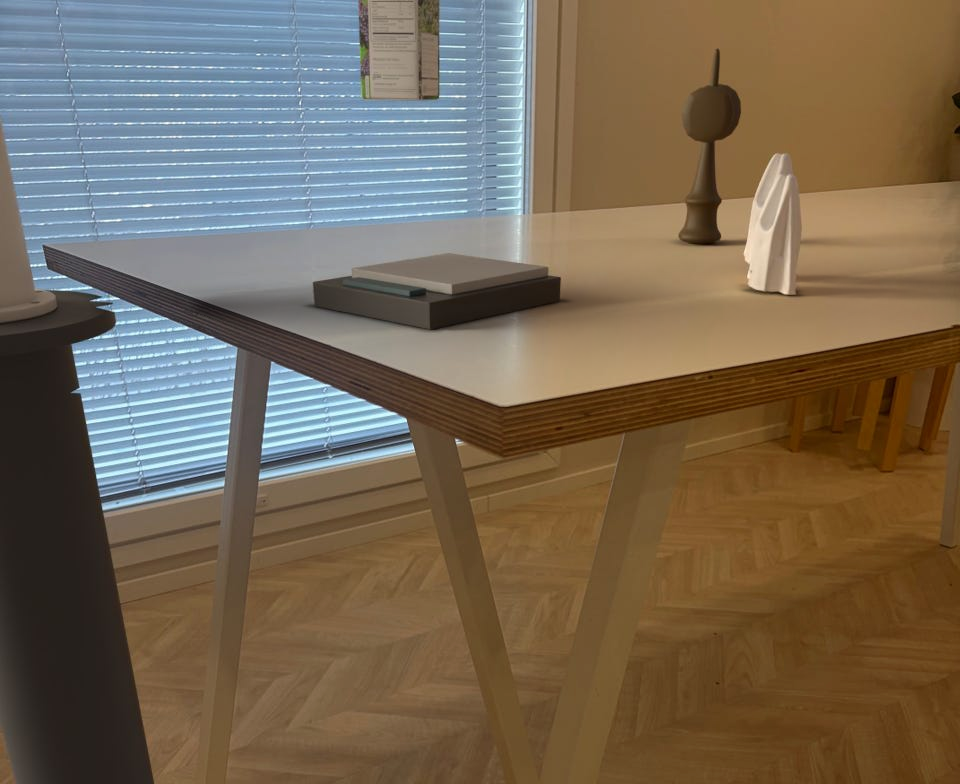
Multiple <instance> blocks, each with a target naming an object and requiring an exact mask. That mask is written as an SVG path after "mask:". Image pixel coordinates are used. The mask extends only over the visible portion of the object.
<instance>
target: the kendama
mask: <svg viewBox="0 0 960 784" xmlns="http://www.w3.org/2000/svg"><path fill="white" fill-rule="evenodd" d="M720 66H721V51H720V49H719V48H716V49H715V50H714V52H713V56H712V63H711V70H710V71H711V72H710V79H709V84H707V85H705V86H702V87H701V86H700V87H699V88H697V89H696V90H694V91H692V92H691V93H690V94H689V96H688V97H687V99H686V101H685V102H684V105H683V110H682V113H681V117H682V127H683V129H684V131H685V134H686V135H687V136H688V137H689V138H690V139H692V140H693V141H695V142H700V143H701V147H700V153H699V157H698V162H697V166H696V171H695V176H694V179H693V183H692V186H691V189H690V191H689V193H688V195H686V197H685V198H684V204H685V205H686V216H685V222H684V225H683V227H682V228H681V230H680V231H679V232H678V235H677V236H678V239H679V240H680V241H681V242H685V243H688V244H689V243H690V244H713V243H716V242H718V241H720V240H721V239H722V233H721V232H720V230H719V227H718V210H719V207H720V205H721V204H722V203H723V200H722V199H723V198H721V196H720V195H719V193H718V188H717V187H718V186H717V177H716V176H717V175H716V141H723V140H724V139H726V138H728V137H730V136H731V135H733V133H734V131H735V130H736V128H737V127H738V125H739V122H740V119H741V114H742V104H741V103H742V102H741V99H740V97H739V94H738V92H737V91H736V90H735V89H734V88H733V87H731V86H729V85H728V84H724V83H723V84H722V83H719V81H720V68H721V67H720Z"/></svg>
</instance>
